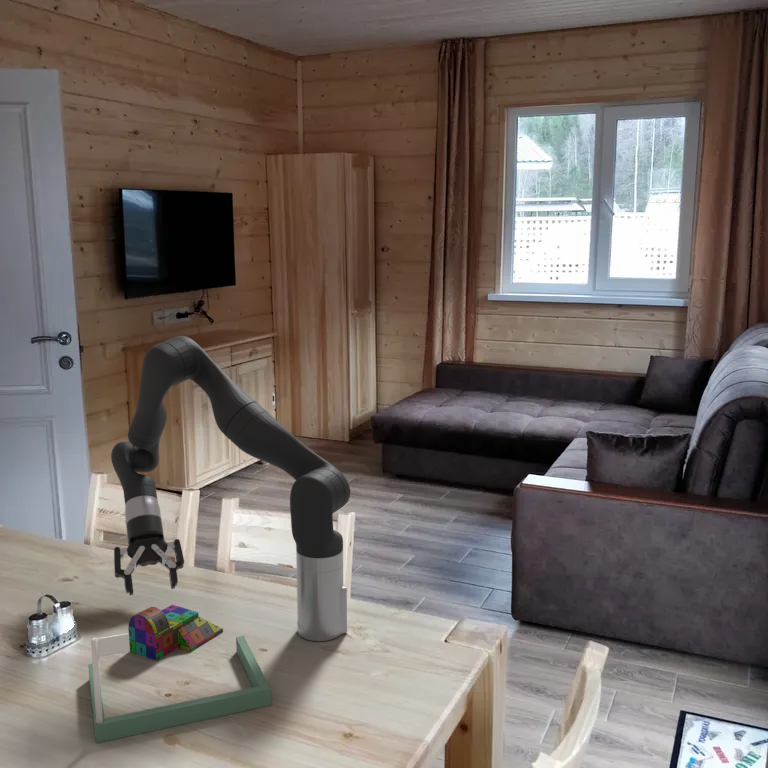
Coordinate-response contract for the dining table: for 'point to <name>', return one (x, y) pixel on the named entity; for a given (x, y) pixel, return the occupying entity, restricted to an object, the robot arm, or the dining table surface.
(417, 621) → the dining table surface
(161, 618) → the building blocks
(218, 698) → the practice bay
